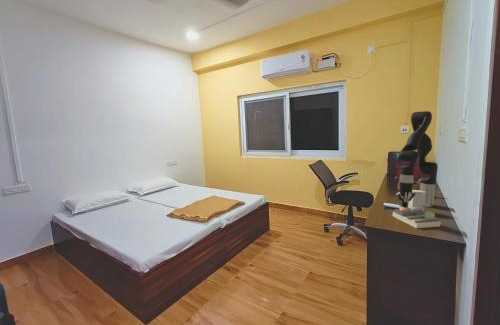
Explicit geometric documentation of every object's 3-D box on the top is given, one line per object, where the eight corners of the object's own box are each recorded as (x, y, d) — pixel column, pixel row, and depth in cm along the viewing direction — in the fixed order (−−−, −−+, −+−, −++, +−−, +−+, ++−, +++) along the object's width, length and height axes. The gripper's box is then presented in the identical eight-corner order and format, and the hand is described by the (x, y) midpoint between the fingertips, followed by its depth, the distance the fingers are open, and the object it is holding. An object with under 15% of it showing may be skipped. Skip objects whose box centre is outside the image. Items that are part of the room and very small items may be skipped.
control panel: (392, 216, 163) (393, 208, 162) (413, 214, 165) (414, 207, 165) (416, 228, 144) (417, 219, 143) (440, 226, 146) (441, 217, 145)
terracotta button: (397, 210, 160) (397, 207, 160) (404, 210, 161) (404, 207, 161) (403, 213, 155) (403, 210, 155) (410, 213, 156) (410, 209, 156)
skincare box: (411, 212, 170) (413, 191, 168) (407, 209, 176) (409, 189, 173) (424, 212, 169) (426, 192, 166) (419, 209, 174) (421, 189, 172)
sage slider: (424, 218, 150) (424, 211, 150) (428, 217, 151) (429, 211, 150) (429, 220, 146) (430, 213, 146) (434, 220, 147) (434, 213, 146)
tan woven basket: (422, 193, 215) (424, 177, 213) (424, 198, 201) (425, 180, 199) (393, 190, 227) (394, 174, 225) (393, 194, 213) (394, 178, 210)
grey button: (408, 210, 161) (408, 206, 161) (415, 209, 162) (415, 206, 162) (414, 212, 156) (414, 209, 156) (421, 212, 157) (422, 208, 157)
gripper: (411, 179, 160) (409, 204, 162) (392, 180, 158) (391, 205, 161) (420, 182, 152) (418, 208, 155) (401, 183, 151) (399, 209, 153)
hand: (404, 207), depth 158 cm, fingers closed
